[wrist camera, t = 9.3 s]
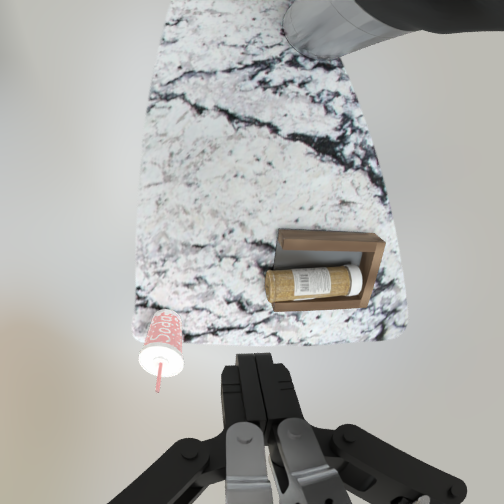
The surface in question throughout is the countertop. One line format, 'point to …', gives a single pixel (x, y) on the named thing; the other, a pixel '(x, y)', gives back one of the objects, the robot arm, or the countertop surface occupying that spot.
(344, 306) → the u rest
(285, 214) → the countertop surface
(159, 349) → the beverage cup
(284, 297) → the sprinkles bottle
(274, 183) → the countertop surface
